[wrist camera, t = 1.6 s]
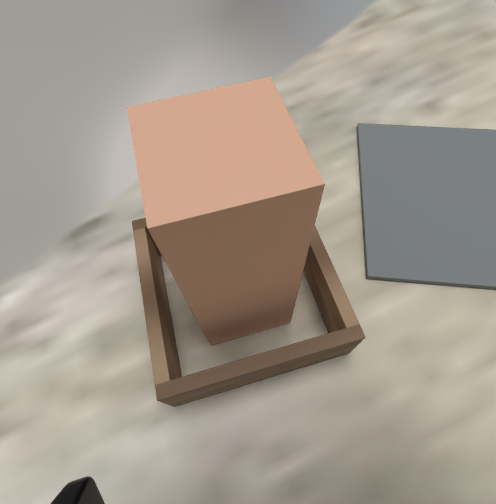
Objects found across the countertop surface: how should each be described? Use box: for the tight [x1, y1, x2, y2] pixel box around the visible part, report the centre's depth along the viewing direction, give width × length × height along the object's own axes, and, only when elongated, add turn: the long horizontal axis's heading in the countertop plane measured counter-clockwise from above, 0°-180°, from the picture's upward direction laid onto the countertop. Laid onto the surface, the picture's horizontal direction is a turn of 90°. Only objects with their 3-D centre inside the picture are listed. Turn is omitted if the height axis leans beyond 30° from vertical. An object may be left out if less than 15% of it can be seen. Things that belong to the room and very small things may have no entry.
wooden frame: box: [132, 218, 365, 407], centre depth 20 cm, size 10×10×4 cm
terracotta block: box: [127, 77, 325, 345], centre depth 16 cm, size 5×5×13 cm
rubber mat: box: [357, 123, 496, 289], centre depth 25 cm, size 14×14×1 cm
